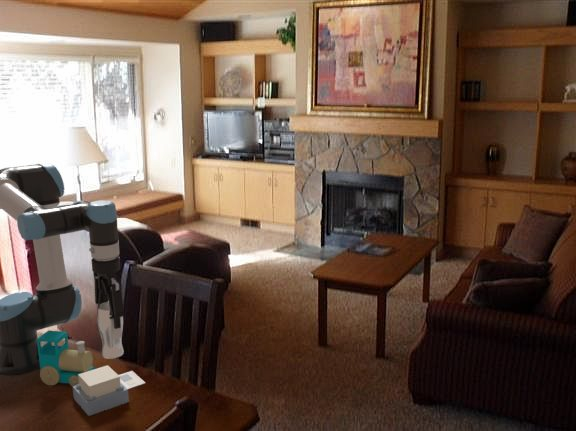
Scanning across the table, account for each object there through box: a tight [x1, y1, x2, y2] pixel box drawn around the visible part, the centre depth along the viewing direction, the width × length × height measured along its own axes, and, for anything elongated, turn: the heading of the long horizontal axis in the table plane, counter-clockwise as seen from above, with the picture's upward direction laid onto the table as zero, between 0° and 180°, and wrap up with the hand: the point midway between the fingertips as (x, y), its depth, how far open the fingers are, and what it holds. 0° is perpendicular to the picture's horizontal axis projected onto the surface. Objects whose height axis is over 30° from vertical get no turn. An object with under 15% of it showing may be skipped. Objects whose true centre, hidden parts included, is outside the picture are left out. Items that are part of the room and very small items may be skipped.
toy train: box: [37, 330, 96, 388], centre depth 192 cm, size 8×17×15 cm, turn 79°
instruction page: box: [118, 370, 146, 390], centre depth 193 cm, size 10×7×1 cm
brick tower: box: [72, 365, 130, 417], centre depth 181 cm, size 12×12×8 cm
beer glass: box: [96, 302, 125, 360], centre depth 177 cm, size 7×7×15 cm
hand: (111, 333), depth 177 cm, fingers closed on beer glass, 7 cm apart
